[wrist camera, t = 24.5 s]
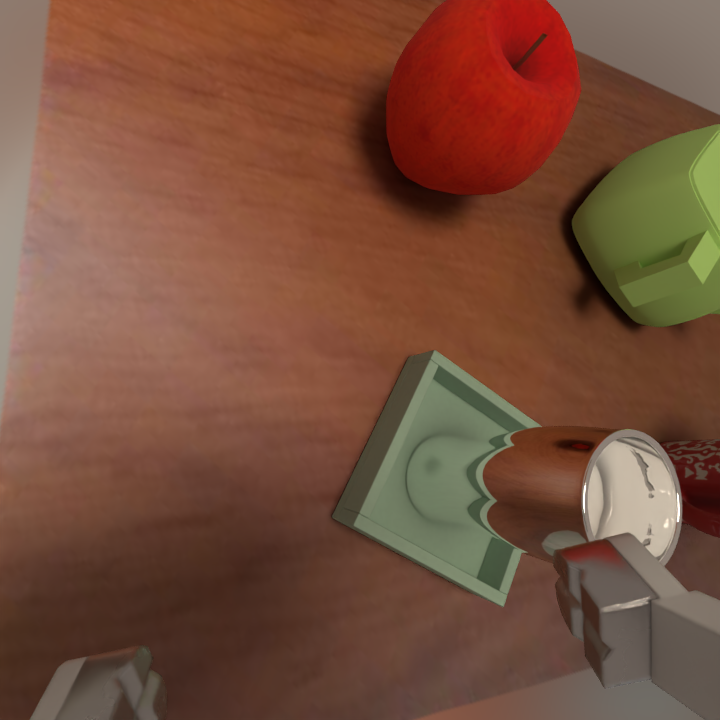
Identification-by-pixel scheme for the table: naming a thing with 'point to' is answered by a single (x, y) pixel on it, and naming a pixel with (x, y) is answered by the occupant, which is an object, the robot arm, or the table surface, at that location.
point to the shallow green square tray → (389, 468)
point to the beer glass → (551, 487)
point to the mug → (698, 481)
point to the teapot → (658, 230)
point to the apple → (482, 95)
